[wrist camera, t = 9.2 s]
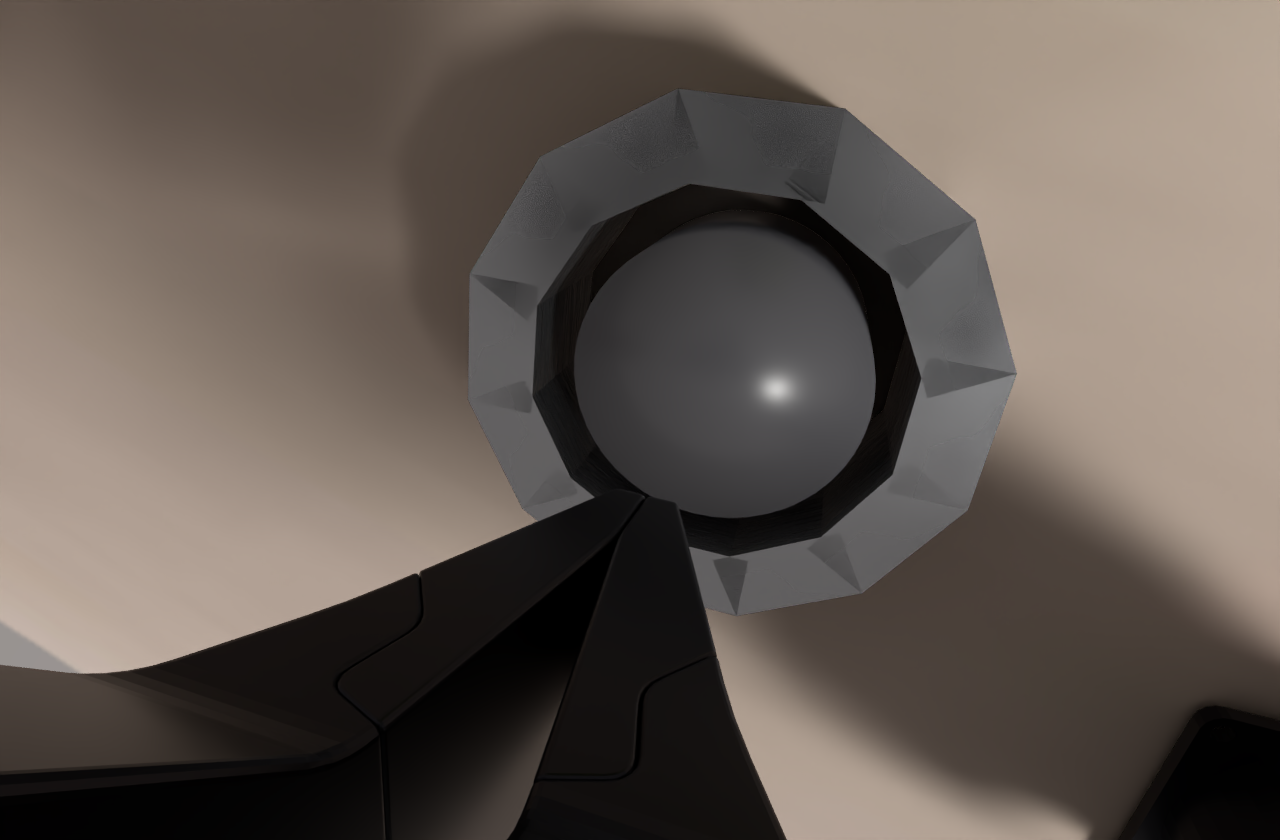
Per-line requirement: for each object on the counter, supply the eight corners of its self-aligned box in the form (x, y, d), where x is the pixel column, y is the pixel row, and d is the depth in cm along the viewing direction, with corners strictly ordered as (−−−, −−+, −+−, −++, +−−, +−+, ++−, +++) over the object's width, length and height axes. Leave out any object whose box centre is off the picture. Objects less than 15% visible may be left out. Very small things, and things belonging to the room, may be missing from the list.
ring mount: (901, 570, 18) (913, 663, 15) (524, 479, 20) (466, 544, 17) (1043, 135, 14) (1100, 139, 11) (545, 74, 16) (471, 63, 13)
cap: (834, 472, 18) (834, 547, 15) (609, 421, 19) (563, 482, 16) (899, 232, 15) (914, 261, 12) (634, 190, 16) (586, 207, 13)
